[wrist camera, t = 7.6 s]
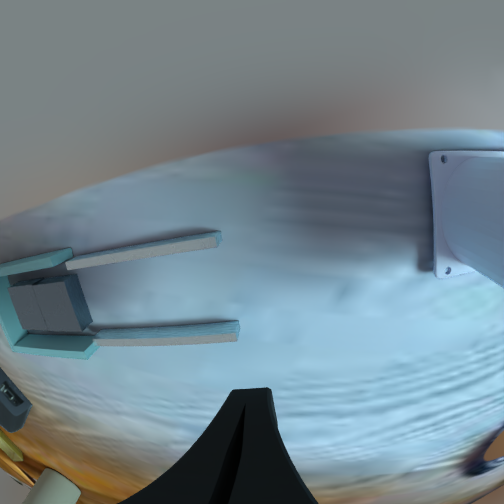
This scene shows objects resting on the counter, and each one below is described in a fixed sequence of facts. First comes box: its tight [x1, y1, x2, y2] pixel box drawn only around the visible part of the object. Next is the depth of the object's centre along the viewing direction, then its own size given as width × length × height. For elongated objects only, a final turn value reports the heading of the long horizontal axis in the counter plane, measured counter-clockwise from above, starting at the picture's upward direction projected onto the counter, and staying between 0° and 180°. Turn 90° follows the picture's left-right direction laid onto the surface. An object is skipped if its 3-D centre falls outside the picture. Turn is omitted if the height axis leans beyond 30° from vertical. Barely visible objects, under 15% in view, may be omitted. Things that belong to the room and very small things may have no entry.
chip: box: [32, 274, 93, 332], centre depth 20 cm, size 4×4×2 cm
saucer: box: [0, 429, 23, 461], centre depth 32 cm, size 9×9×2 cm
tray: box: [0, 248, 100, 360], centre depth 19 cm, size 11×8×2 cm
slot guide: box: [65, 231, 240, 346], centre depth 18 cm, size 11×7×2 cm, turn 100°
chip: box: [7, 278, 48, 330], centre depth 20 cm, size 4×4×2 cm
